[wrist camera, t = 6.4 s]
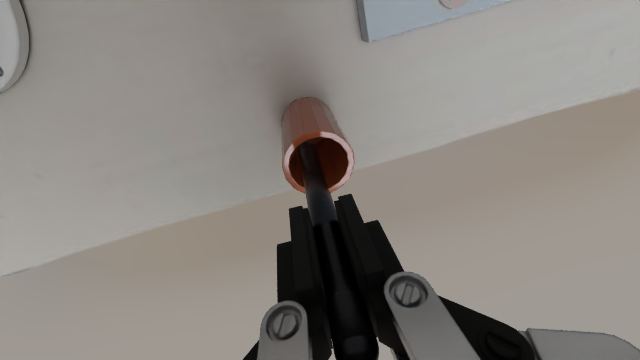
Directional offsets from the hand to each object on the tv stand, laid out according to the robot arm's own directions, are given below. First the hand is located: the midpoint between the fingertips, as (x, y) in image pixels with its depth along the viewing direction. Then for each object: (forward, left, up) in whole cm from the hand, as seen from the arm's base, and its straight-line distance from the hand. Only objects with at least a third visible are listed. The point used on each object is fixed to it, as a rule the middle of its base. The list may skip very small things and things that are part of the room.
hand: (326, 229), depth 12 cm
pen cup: (0, 0, -14) cm, 14 cm away
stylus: (0, 0, -9) cm, 9 cm away
